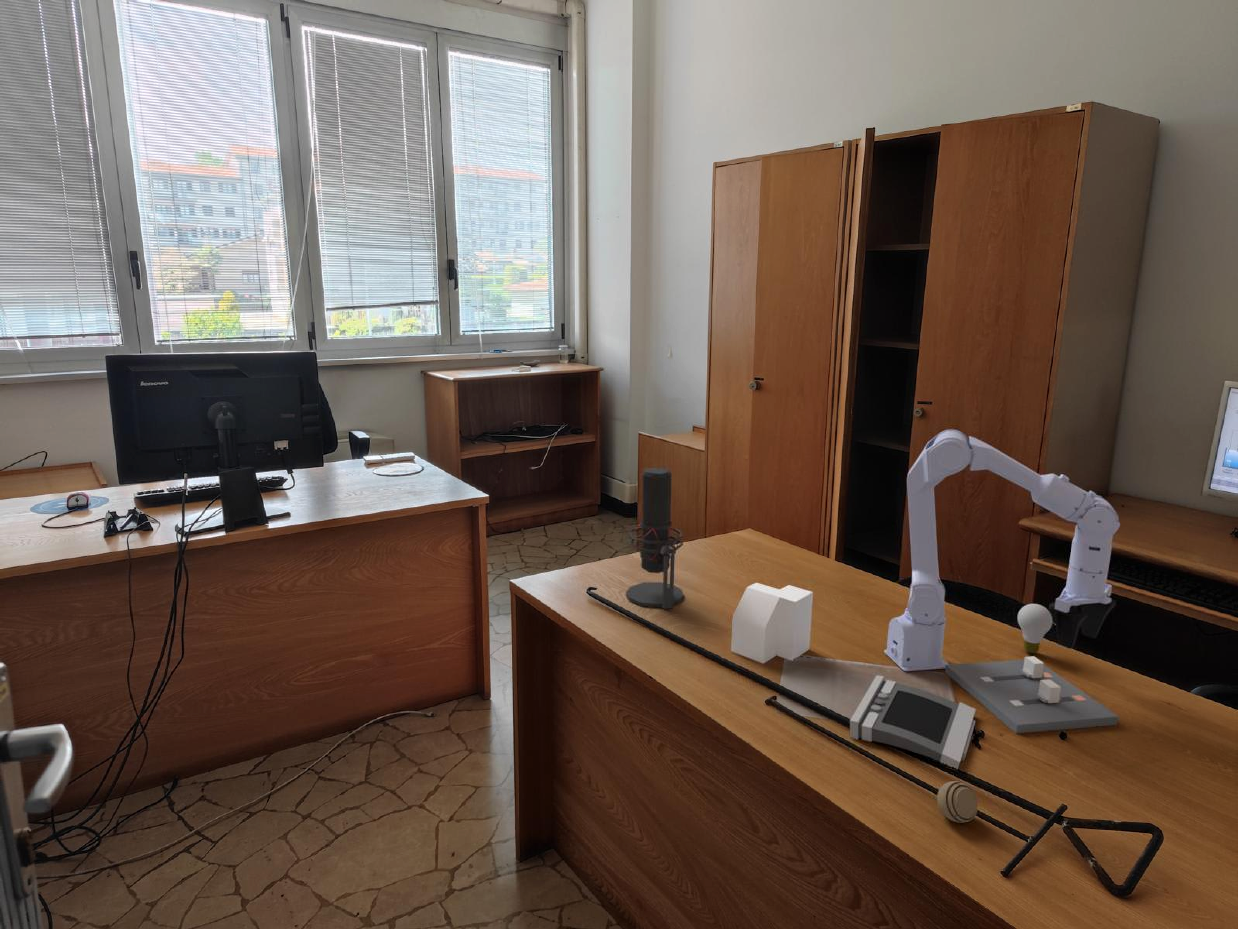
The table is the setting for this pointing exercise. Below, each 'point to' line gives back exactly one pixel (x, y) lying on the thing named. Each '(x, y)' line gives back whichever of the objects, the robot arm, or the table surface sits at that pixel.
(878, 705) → the alarm clock
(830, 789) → the table surface
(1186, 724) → the table surface
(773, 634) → the white chamfered block
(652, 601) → the microphone
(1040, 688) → the breaker
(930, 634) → the robot arm
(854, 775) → the table surface
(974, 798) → the door knob
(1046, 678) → the panel
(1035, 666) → the breaker on
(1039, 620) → the light bulb
